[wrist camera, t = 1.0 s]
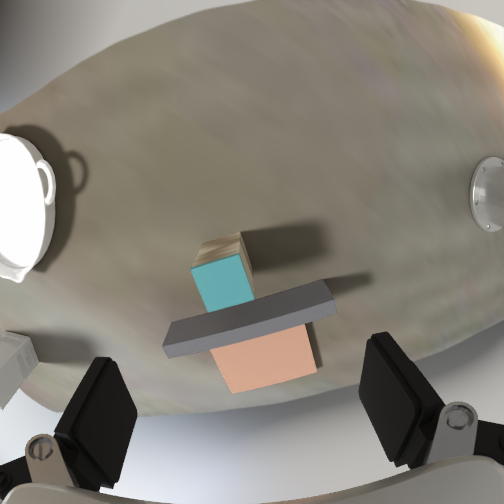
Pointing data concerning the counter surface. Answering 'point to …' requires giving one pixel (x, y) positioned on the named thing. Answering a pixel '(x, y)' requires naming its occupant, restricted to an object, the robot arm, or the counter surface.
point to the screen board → (250, 320)
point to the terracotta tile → (266, 359)
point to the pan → (24, 206)
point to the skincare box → (14, 364)
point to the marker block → (223, 273)
